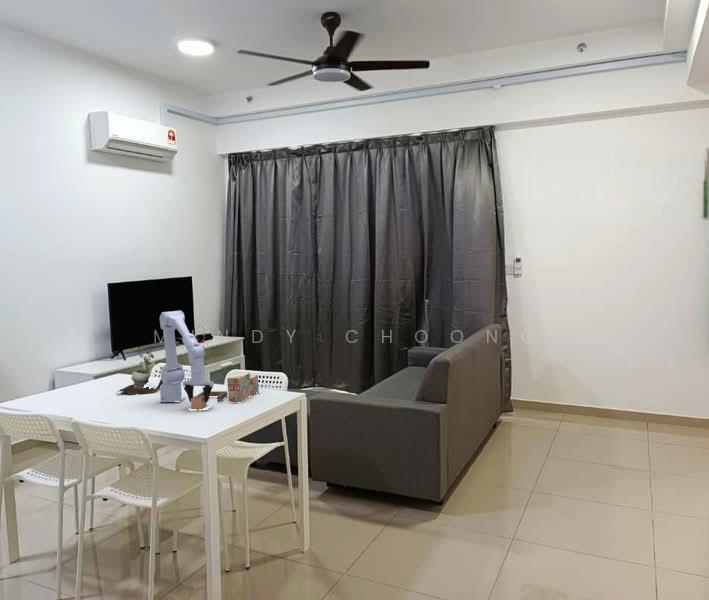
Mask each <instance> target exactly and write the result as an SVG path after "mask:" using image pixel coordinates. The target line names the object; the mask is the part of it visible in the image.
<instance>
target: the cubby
mask: <svg viewBox="0 0 709 600" xmlns="http://www.w3.org/2000/svg"><path fill="white" fill-rule="evenodd" d="M196 396H204V391H203V390H202V391H201V392H200V393H198V394H197V395H196ZM209 396H218V397H217V398H216V400H217V401H216V402H220V401H222V400H223V399H224V398H225V397H227V398H228V390H226V391H225V390H219V391H217V390H216V391H215V390H214V391H213V390H211V392H210V395H209ZM223 401H224V400H223ZM223 401H222V402H223Z"/></svg>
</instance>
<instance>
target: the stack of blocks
mask: <svg viewBox="0 0 709 600" xmlns="http://www.w3.org/2000/svg"><path fill="white" fill-rule="evenodd" d="M258 376H259V375H258V374H251V372H237V373H234V374H233V375H231V376H229V377H227V398H228V402H229V401H230V402H241V401H243V400H245V399H246V398H248V397H249V396H251V395H253V394H255V393H256V392H258V391H260V390H259V380H258V379H259V377H258ZM258 393H259V392H258ZM255 395H256V394H255ZM253 396H254V395H253ZM245 401H246V400H245ZM243 402H244V401H243ZM241 403H242V402H241Z"/></svg>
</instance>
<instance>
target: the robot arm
mask: <svg viewBox="0 0 709 600" xmlns="http://www.w3.org/2000/svg"><path fill="white" fill-rule="evenodd" d="M185 319H186V317H185V314H184V312H183V311H182V310H180V309H179V310H174V311H163V312H161V314H160V316H159V324H160V329H161V330H162V331H163V332H162V333H163V342H164V352H165V360H166V361H165V362H166V363H165V364H164V365H163V366H162V367H161V371H160V372H161V373H160V380H162V382H163V384H162V385H161V387H159V392H160V393H159V396H160V402H175V401H180V400H182V398H183V393H182V391H183V390H184V391H185V393H186V395H187V398H188V401H189V402H190V403H191V398H193V397H194V387H202V392H203V391H204V399H205V402H209V400H210V398H209V395H210V392H211V391H213V388H214V386H215V384H214V383H215V382H214V381H211V380H205V366H204V365H205V364H204V358H205V357H206V354H207V353H206V348H205V346H204V345H203V344H201V343H199V342H198V339H197V338H196V337H195V335H194V334H193V333H190V331H189V329H188V327H187V325H186V323H185ZM175 330H177V331H178V333H179V334H180V336H181V337H182V338H181V340H182V341H181V342H182V343H183V344H184V346H185V348H186V350H187V357H188V362H189V364H190V376H191V377H190V379H191V380H184V379H185V377H186V376H185V375H186V374H185V371H184V368H183V367H184V366H183V365H182V364H181V363H179V362H178V353H177V346H176V336H175V335H176V334H175ZM182 387H183V390H182Z"/></svg>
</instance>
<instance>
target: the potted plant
mask: <svg viewBox="0 0 709 600" xmlns="http://www.w3.org/2000/svg"><path fill="white" fill-rule="evenodd" d="M143 350H144V349H143V348H139V347H136V348H134V352H135V353H137V352H138V353H139V355H138V356H139V357H140V358H143V361H140V362H139V366H138V370H135V371H134V370H133V372H132V375H131V376H130V379H131V380H132V381H133V384H131V385H128V386H125V387H124V388H121V389H120V390H117V392H116V393H115V394H116V395H117V394H118V393H120V392H123V393H125V394H128V395H132V394H133V395H134V394H139V393H142V394H149V393H148V392H150V393H154V392H156V390H157V389H158V388H160V386H161V385H162V384H163V382H162V380H161V379H160V380H159V381H158V385H157V386H156V387H157V388H156V389H153V388H154V387H153V388H151V389H149V387H146V388H143V387H144V385H147V383H149V379H150V373H149V372H150V367H149V365H152V363H151V362H150V361H152V360H151V358H152V359H153V358H155V356H154V354H152V352H151V351H146V356H144V355H143V354H142V352H143ZM141 367H142V370H141ZM139 395H140V394H139Z"/></svg>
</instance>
